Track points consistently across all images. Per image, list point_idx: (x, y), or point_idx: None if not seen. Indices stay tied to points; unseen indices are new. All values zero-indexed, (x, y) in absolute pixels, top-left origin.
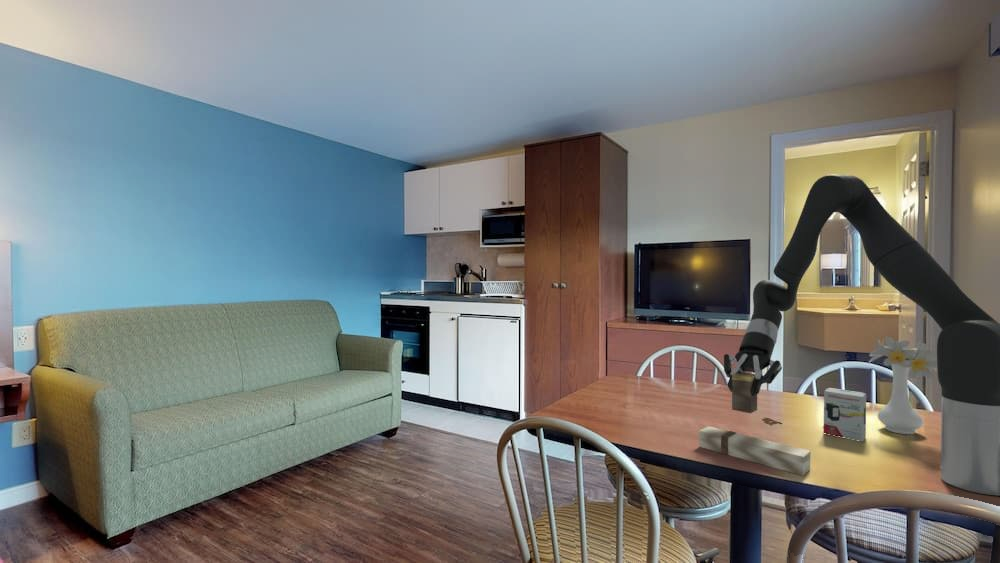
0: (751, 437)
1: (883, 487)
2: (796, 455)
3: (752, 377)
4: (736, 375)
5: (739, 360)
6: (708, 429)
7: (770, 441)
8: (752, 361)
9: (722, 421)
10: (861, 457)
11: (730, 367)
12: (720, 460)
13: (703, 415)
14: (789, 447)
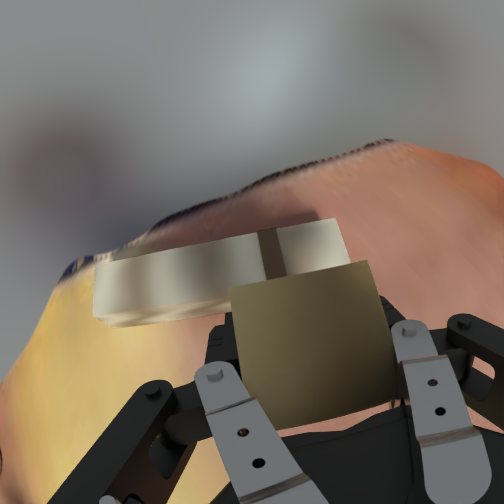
0: (221, 288)
1: (31, 344)
2: (107, 263)
3: (234, 323)
4: (336, 268)
5: (463, 409)
6: (331, 245)
7: (173, 302)
8: (335, 497)
9: None
10: None
11: (489, 396)
12: (251, 215)
13: None
14: (128, 298)
